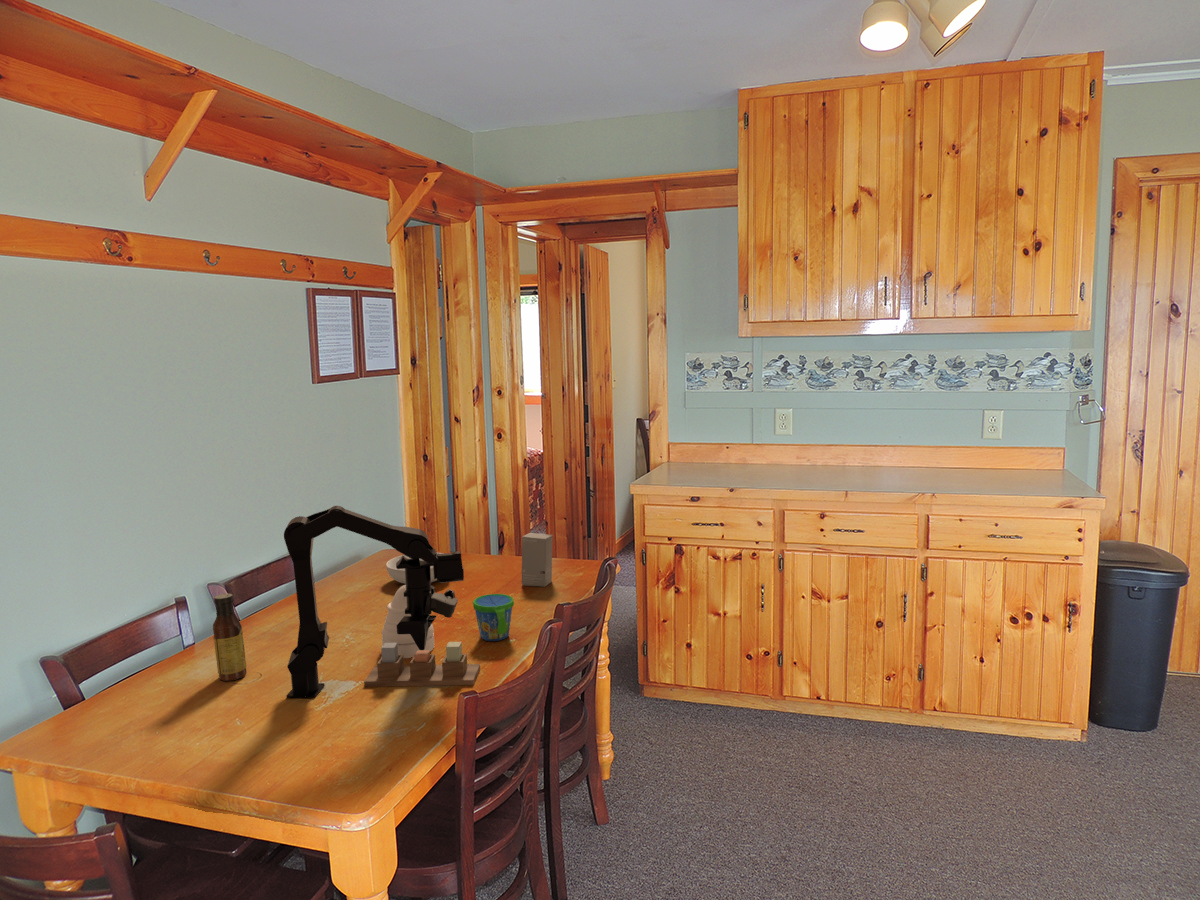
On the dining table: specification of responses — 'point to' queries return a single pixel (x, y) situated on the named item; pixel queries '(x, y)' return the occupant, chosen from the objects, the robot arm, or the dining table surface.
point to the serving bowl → (400, 573)
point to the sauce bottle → (228, 640)
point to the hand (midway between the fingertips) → (422, 649)
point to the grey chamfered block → (389, 652)
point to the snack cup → (493, 616)
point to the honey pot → (389, 631)
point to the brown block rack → (423, 673)
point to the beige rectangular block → (454, 651)
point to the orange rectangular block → (422, 656)
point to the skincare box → (536, 559)
